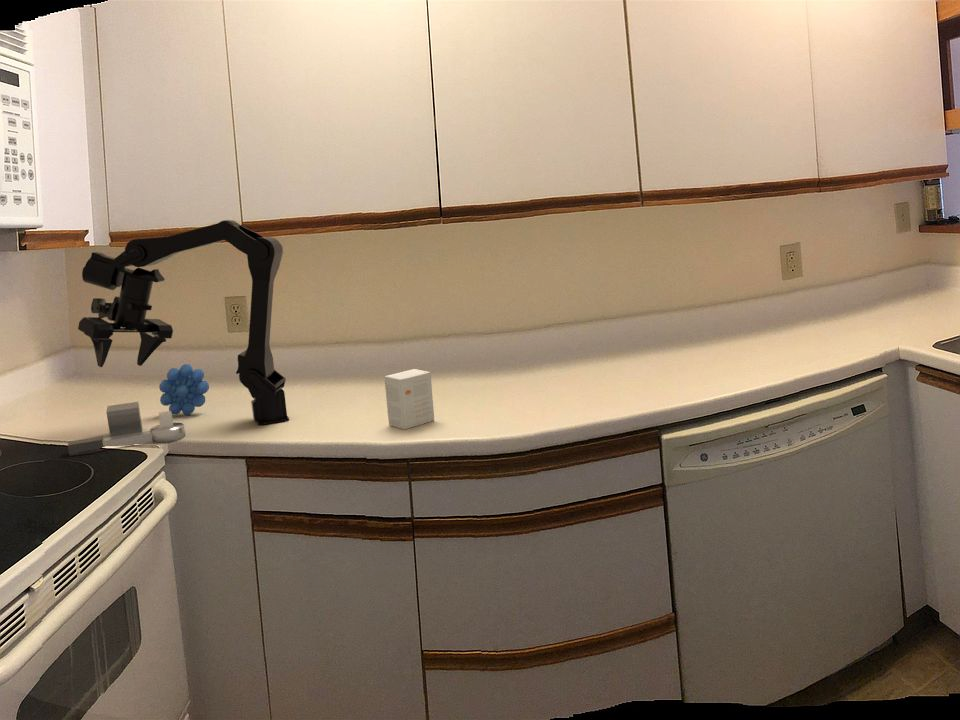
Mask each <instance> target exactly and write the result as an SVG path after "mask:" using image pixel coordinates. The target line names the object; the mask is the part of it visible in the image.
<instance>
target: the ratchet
mask: <svg viewBox="0 0 960 720" xmlns="http://www.w3.org/2000/svg"><path fill="white" fill-rule="evenodd" d="M158 419H159V424H158V425H155V426H152V427H151V428H150V429H149V430H146V431H142V432H139V433H133V434H127V435H120V436H114V437H110V436H109V437H108V436H107V437H104V436H102V435H101V436H96V437H88V438H87V437H86V438H81V439H75V440H71V441H70V440H69V441H68V443H67V450H68V455H70V454H74V453H78V452H83V451H87V450H92V449H100V448H102V447H105V446H119V445H121V446H122V445H134V444H143V445H147V444H148V443H149V444H170V443H174V442H178V441H181V440H183V439H185V438H186V431H185V424H184V423H183V422H173V414H171V411H169V410H167V411H160V412H158ZM184 437H185V438H184Z"/></svg>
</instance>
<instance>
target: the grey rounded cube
mask: <svg viewBox="0 0 960 720" xmlns="http://www.w3.org/2000/svg"><path fill="white" fill-rule="evenodd" d="M139 404H140V403H139V401H133V402H127V403H120V404H119V403H118V404H113V405H107V407H106V417H107V425H108V431H109V435H110V436H109V437H114V436H120V435H127V434H133V433H139V432H143V424H142V416H141V411H140V405H139Z"/></svg>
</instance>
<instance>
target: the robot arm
mask: <svg viewBox="0 0 960 720" xmlns="http://www.w3.org/2000/svg"><path fill="white" fill-rule="evenodd" d="M224 241H226V242H227V243H229V244H231V246H233V247H234V248H235V249H237V250H238V251H239V252H241V253H243V254H244V255H246V256H247V266H248V270H249V273H250V276H251V282H252V283H251V295H250V296H251V297H250V298H251V299H250V311H249V327H248V344H247V345H248V346H247V348H246V350H244V351H241V352H240V353H239V354H238V355H237V370H236V372H235V374H237V375H238V378H239V381H240V383H241V384H242V385H243V386H244V387H245V388H246V389H247V390H248V392H249V394H250V396H251V397H252V398H253V399H252V400H250V401H251V402H250V403H251V411H252V412H251V413H252V419H253V420H254V422H256V423H257V425H258V426H262V425H263V426H264V425H267V424H274V423H279V422H285V421H289V420H290V417H289V416H288V412H287V403H286V396H285V395H286V393H285V390H283V388H284V387H285V385H286V381H287V380H286V377H285V376H283V375H282V374H281V373H280V372H278V370H276V369H275V365H274V356H273V353H272V350H271V347H270V346H271V345H270V339H271V338H270V337H271V327H272V325H271V324H272V311H273V310H272V309H273V294H274V282H275V279H276V276H277V273H278V271H279V269H280V265H281V262H282V257H283V253H284V250H283V249H284V248H283V245H282V244H281V243H280V241H279V240H278V239H277V238H275V237H272V236H263V235H261V234H260V233H258V232H256V231H254V230H252V229H249V228H247V227H245V226H243V225H241V224H240V223H238V222H237V221H235V220H231V219H227V220H221V221H219V222H217V223H214V224H211V225H206V226H203V227H199V228H195V229H192V230H187V231H183V232H180V233H176V234H172V235H168V236H160V237H159V236H157V237H146V238H134V239H131V240H130V241H128V242H126V245H125V248H124V251H123V252H121V253H120V254H118V255H117V256H116V257H112V256H109V255H106V254H105V253H103V252H99V251H94V252H91V256H90V258H89V259H88V260H87V261H86V263H85V265H84V267H83V268H82V270H81V271H82V273H81V274H82V275H81V277H82V281H83V282H84V283H86V284H90V285H94V286H97V287H99V288H104V289H106V290H107V289H108V290H111V291H114V290H116V289H117V288H120V287H121V288H120V291H119V296H114V298H113V301H112V302H107V301H106V299H105V298H100V297H99V298H97V297H95V298H92V300H91V305H90V311H91V313H92V314H97V315H98V316H97V317H93V316H90V317H89V316H88V317H87V316H84V317H82V318H80V320H79V322H78V327H77V330H78V331H80V332H82V333H83V334H84V335H85V336H87V337H89V338H90V340H91V341H92V342H91V343H92V345H93V348H94V354H95V357H96V363H97V366H98V367H99V368H104V364H105V363H106V360H107V357H108V354H109V352H110V349H111V346H112V343H113V339H111V338H110V337H112V336H113V335H114V333H139V335H140V346H139V350H138V353H137V361H136V365H137V366H139V367H141V366H143V364H145V362H146V361H147V360H148V359H149V358H150V356H151V355H152V354H153V353H154V351H155V350H156V349H158V348H159V346H161V345H162V343H166V342H167V339H172V338H173V334H174V329H173V327H172V325H171V324H169V323H167V322H166V321H163V320H162V319H159V318H147V317H146V316H147V312H148V311H152V308H153V305H152V304H150V298H151V294H152V290H153V289H152V288H153V284H154V283H161V282H164V281H165V277H164V276H163V275H162V273H161V272H160V269H159V268H155V269H152V270H149V269H145V268H143V267H150V266H155V265H157V264H158V265H159V264H160V263H162V262H163V261H166V260H168V259H170V258H172V257H173V256H175V255H177V254H179V253H183V252H186V251H191V250H194V249H197V248H201V247H206V246H210V245H213V244H217V243H221V242H224ZM132 266H134V267H136V268H135V269H131V268H128V267H132ZM104 318H107V320H109V321H111V322H108V321H107V320H104ZM112 321H113V322H112Z"/></svg>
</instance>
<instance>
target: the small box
mask: <svg viewBox="0 0 960 720" xmlns="http://www.w3.org/2000/svg"><path fill="white" fill-rule="evenodd" d="M383 379H384V386H385V387H384V388H385V399H386V408H387V419H388V425H389V426H390V427H394V428H397V429H401V430H408V429H411V427H412V428H414V426H415V427H419V426H421V425H424V423H425V424H427V422H428V423H430V422H434V421H435V412H434V411H435V409H434V399H433V388H432V387H433V385H432V374H431V372H430V371H426V370H421V369H417V368H413V369H412V368H411V369H409V370H404V371H400V372H395V373H393V374H389V375H385V376H384V378H383Z"/></svg>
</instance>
